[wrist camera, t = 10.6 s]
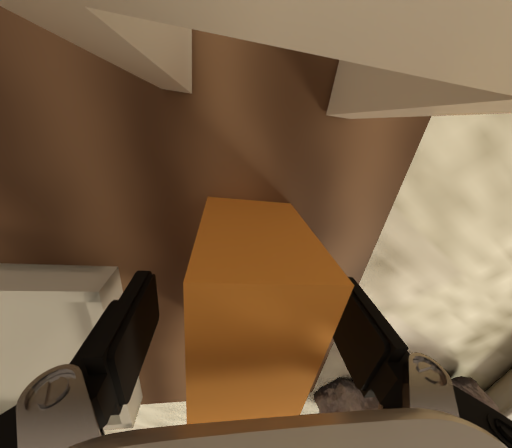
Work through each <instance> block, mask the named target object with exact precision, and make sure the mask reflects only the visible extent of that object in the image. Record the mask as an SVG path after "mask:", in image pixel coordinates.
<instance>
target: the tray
mask: <svg viewBox="0 0 512 448" xmlns="http://www.w3.org/2000/svg"><path fill="white" fill-rule="evenodd" d="M122 293H123V290H122V284H121V279H120V274H119V268H118V267H117V266H81V265H45V264H8V263H0V415H1V414H2V413H4V412H5V411H7V410H9V409H10V408H12V407H13V406H15V405H17V401H18V399H19V397H20V395H21V393H22V392H23V391H24V389H25V388H26V387H27V386H28V385H29V383H31V382H32V381H33V380H34V379H35V378H37V377H38V376H39V375H41V374H42V373H44V372H45V371H47V370H49V369H51V368H54V367H56V366H59V365H64V364H69V363H70V362H71V360H72V359H73V357H74V356H75V354H76V353H77V351H78V350H79V348H80V347H81V345H82V344H83V342H84V341H85V339H86V338H87V336H88V335H89V333H90V332H91V330H92V329H93V327H94V326H95V324H96V323H97V321H98V320H99V318H100V317H101V315H102V314H103V312H104V311H105V309H106V308H107V306H108V305H109V304H110V302H111V301H113V300H119V298H120V297H121V295H122ZM142 398H143V396H142V391H141V385H140V380H139V376H138V379H137V382H136V385H135V388H134V390H133V393H132V396H131V399H130V401H129V403H128V404H126V405H123V407H122V410H121V413H120V415H111V416H110V418H109V421H108V423H107V425H106V426H105V427H103V429H104V430H114V429H125V428H133V426H134V423H135V420H136V417H137V414H138V410H139V407H140V404H141V401H142Z"/></svg>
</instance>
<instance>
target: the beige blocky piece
mask: <svg viewBox="0 0 512 448" xmlns="http://www.w3.org/2000/svg"><path fill="white" fill-rule="evenodd" d="M0 6H1V7H3V8H5V9H7V10H9V11H11V12H13V13H15V14H17V15H19V16H21V17H22V18H24V19H26V20H28V21H30V22H32V23H34V24H36V25H38V26H40V27H42V28H44V29H46V30H48V31H50V32H52V33H54V34H56V35H58V36H59V37H61V38H63V39H65V40H67V41H69V42H71V43H73V44H75V45H77V46H79V47H81V48H83V49H85V50H87V51H89V52H91V53H93V54H94V55H96V56H98V57H100V58H102V59H104V60H106V61H108V62H110V63H112V64H114V65H116V66H118V67H120V68H122V69H124V70H126V71H128V72H130V73H131V74H133V75H135V76H137V77H139V78H141V79H143V80H145V81H147V82H149V83H151V84H153V85H155V86H157V87H159V88H161V89H165V90H172V91H178V92H184V93H190V94H192V29H194V30H199V31H203V32H208V33H213V34H218V35H223V36H227V37H232V38H237V39H242V40H247V41H251V42H256V43H261V44H266V45H271V46H275V47H280V48H285V49H290V50H295V51H299V52H304V53H309V54H314V55H319V56H323V57H328V58H333V59H338V60H339V64H338V68H337V72H336V76H335V80H334V84H333V88H332V93H331V97H330V101H329V105H328V109H327V113H326V115H328V116H334V117H341V118H347V119H362V118H389V117H417V116H445V115H472V114H500V113H512V0H0Z"/></svg>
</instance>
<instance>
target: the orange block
mask: <svg viewBox="0 0 512 448" xmlns="http://www.w3.org/2000/svg"><path fill="white" fill-rule="evenodd" d="M353 288H354V284H353V283H352V282H351V281H350V279H349V278H348V277H347V275H346V274H345V273H344V271H343V270H342V269H341V268H340V266H339V265H338V264H337V262H336V261H335V260H334V259H333V257H332V256H331V255H330V253H329V252H328V251H327V250H326V248H325V247H324V246H323V244H322V243H321V242H320V241H319V239H318V238H317V237H316V235H315V234H314V233H313V232H312V230H311V229H310V228H309V226H308V225H307V224H306V223H305V221H304V220H303V219H302V217H301V216H300V215H299V214H298V212H297V211H296V210H295V208H294V207H293V206H292V205H291V203H279V202H267V201H255V200H243V199H231V198H219V197H207V201H206V204H205V208H204V211H203V215H202V218H201V222H200V225H199V229H198V232H197V236H196V239H195V243H194V246H193V250H192V253H191V257H190V260H189V264H188V267H187V271H186V274H185V278H184V282H183V295H184V332H185V369H186V407H187V424H197V423H209V422H221V421H233V420H244V419H257V418H269V417H282V416H294V415H300V413H301V411H302V409H303V406H304V404H305V401H306V399H307V397H308V394H309V392H310V390H311V387H312V385H313V382H314V380H315V378H316V375H317V373H318V371H319V368H320V366H321V363H322V361H323V359H324V356H325V354H326V352H327V349H328V347H329V345H330V342H331V340H332V337H333V335H334V333H335V330H336V328H337V326H338V323H339V321H340V318H341V316H342V314H343V311H344V309H345V307H346V304H347V302H348V299H349V297H350V295H351V292H352V290H353Z"/></svg>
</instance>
